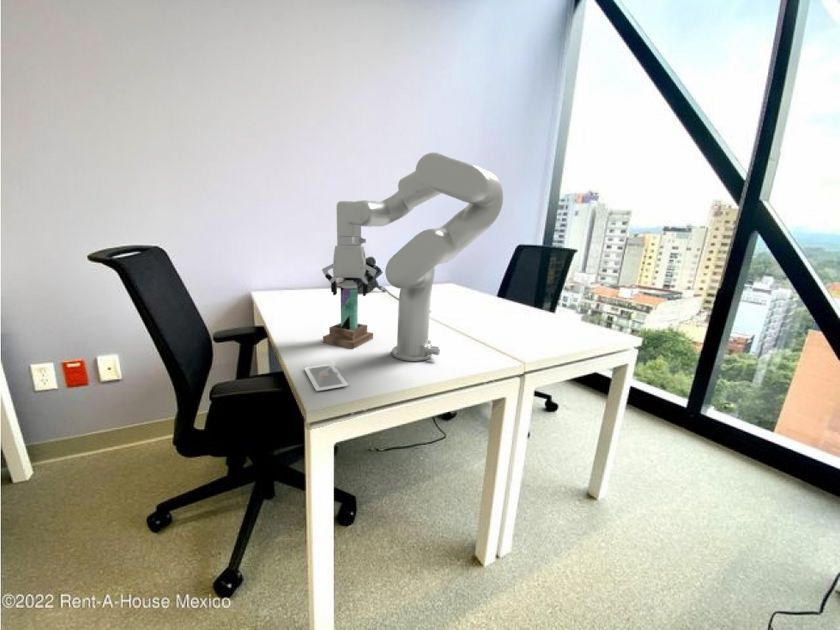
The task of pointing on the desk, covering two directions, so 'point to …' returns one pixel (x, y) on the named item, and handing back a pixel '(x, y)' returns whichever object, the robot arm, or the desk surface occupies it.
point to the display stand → (348, 336)
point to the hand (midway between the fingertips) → (349, 294)
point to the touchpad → (325, 377)
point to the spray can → (349, 304)
